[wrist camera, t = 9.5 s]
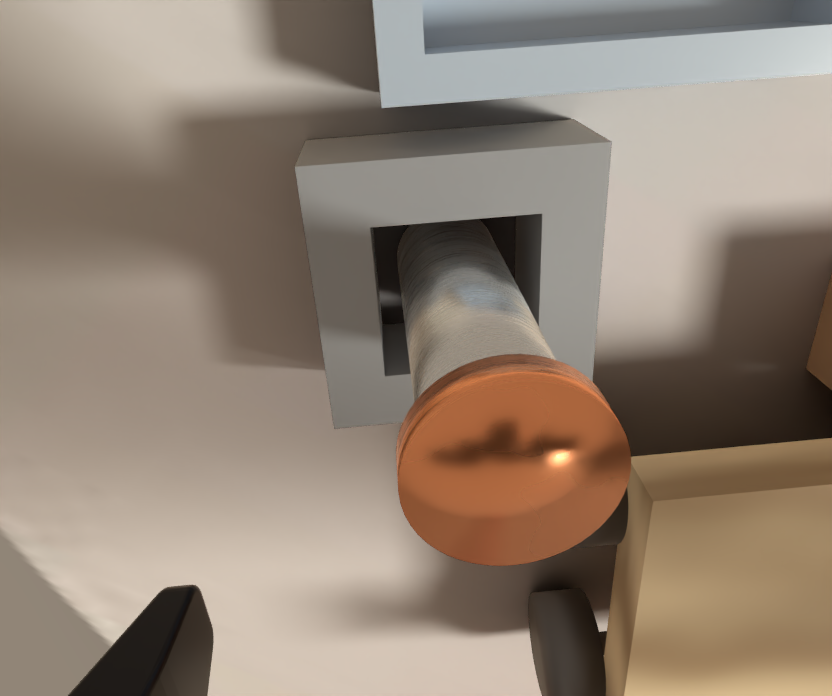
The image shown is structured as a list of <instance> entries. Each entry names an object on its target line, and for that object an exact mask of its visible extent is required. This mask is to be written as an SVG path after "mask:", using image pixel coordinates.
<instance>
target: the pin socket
mask: <svg viewBox="0 0 832 696" xmlns="http://www.w3.org/2000/svg"><path fill="white" fill-rule="evenodd" d="M611 145H612V142H611V141H609V140H608V139H606V138H604V137H603V136H601V135H599V134H598V133H596V132H594V131H593V130H591V129H589V128H588V127H586V126H584V125H583V124H581V123H579V122H578V121H576V120H574V119H569V120H556V121H543V122H530V123H518V124H505V125H492V126H479V127H466V128H453V129H440V130H428V131H415V132H402V133H389V134H376V135H363V136H351V137H338V138H325V139H312V140H306V141H305V143H304V146H303V148H302V150H301V153H300V155H299V158H298V160H297V162H296V165H295V173H296V179H297V186H298V193H299V199H300V206H301V212H302V219H303V226H304V232H305V239H306V245H307V252H308V259H309V265H310V272H311V279H312V285H313V292H314V298H315V305H316V312H317V318H318V325H319V331H320V338H321V345H322V351H323V358H324V365H325V371H326V378H327V384H328V391H329V398H330V404H331V411H332V417H333V424H334V429H337V428H348V427H359V426H370V425H381V424H392V423H403V421H404V419H405V417H406V415H407V413H408V411H409V410H410V408H411V407H412V405H413V404H414V397H413V389H412V380H411V372H410V364H409V355H408V347H407V339H406V330H405V323H397V324H386V325H382V317H381V306H380V296H379V286H378V276H377V266H376V255H375V245H374V235H373V227H384V226H397V225H409V224H421V223H433V222H445V221H458V220H470V219H482V218H494V217H506V216H516V230H515V282H516V284H517V286H518V288H519V290H520V292H521V294H522V296H523V298H524V299H525V301H526V303H527V305H528V307H529V309H530V311H531V313H532V315H533V317H534V319H535V320H536V322H537V324H538V326H539V328H540V330H541V332H542V334H543V336H544V338H545V340H546V342H547V343H548V345H549V347H550V349H551V351H552V353H553V355H554V357H555V359H556V360H557V361H560V362H563V363H565V364H567V365H569V366H571V367H573V368H575V369H577V370H578V371H580V372H581V373H582V374H584V375H585V376H587V377H588V378H589V379H590V380H591V381H593V368H594V356H595V344H596V331H597V319H598V306H599V294H600V282H601V269H602V257H603V245H604V232H605V220H606V207H607V195H608V183H609V170H610V158H611Z"/></svg>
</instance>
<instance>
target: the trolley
mask: <svg viewBox="0 0 832 696" xmlns="http://www.w3.org/2000/svg"><path fill="white" fill-rule="evenodd" d="M614 544H617V553H616V561H615V569H614V578H613V586H612V594H611V603H610V611H609V619H608V628H607V631H604V632H599V631H598V627H597V623H596V620H595V616H594V613H593V610H592V608H591V605H590V603H589V600H588V598H587V596H586V595H585V593H584V592H583V590H582V589H580V588H574V589H563V590H553V591H543V592H533V593H531V594H530V596H529V604H528V615H529V629H530V638H531V646H532V653H533V659H534V664H535V669H536V674H537V678H538V683H539V686H540V690H541V694H542V696H832V438H826V439H815V440H804V441H794V442H783V443H772V444H762V445H751V446H740V447H730V448H719V449H708V450H698V451H687V452H676V453H666V454H655V455H644V456H634V457H631V472H630V477H629V482H628V485H627V488H626V490H625V493H624V495H623V497H622V499H621V501H620V503H619V505H618V506H617V508H616V509H615V510H614V512H613V513H612V515H611V516H610V517H609V518H608V519H607V520H606V521H605V522H604V524H603V525H602V526H601V527H599V528H598V529H597V530H596V531H595V532H594V533H593V534H591V535H590V536H589V537H587V538H586V539H584V540H583V541H582V542H580V543H578V544H577V545H575V546H573V547H571V548H570V549H573V548H584V547H594V546H604V545H614ZM603 655H604V656H603Z"/></svg>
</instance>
